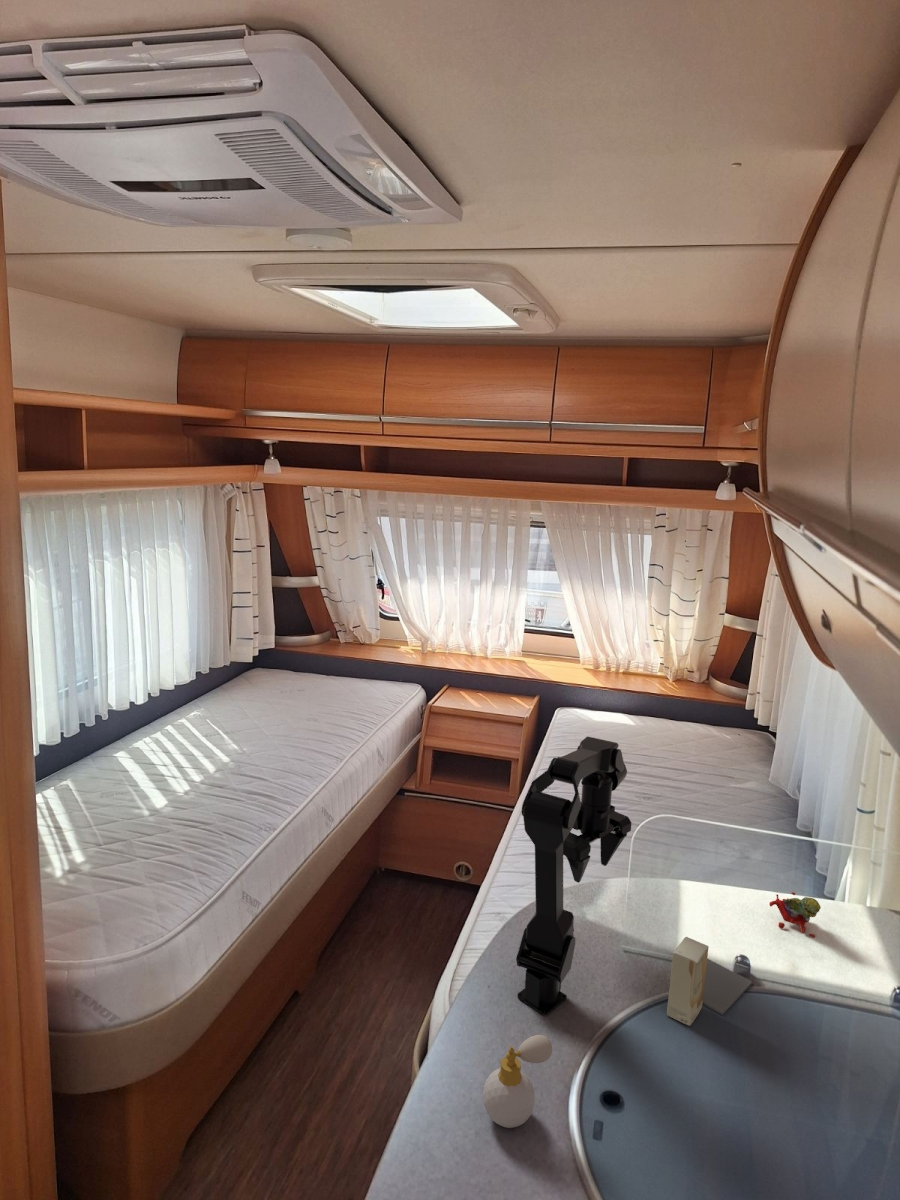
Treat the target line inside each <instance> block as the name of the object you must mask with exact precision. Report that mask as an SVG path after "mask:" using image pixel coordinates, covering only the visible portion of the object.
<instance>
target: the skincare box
mask: <svg viewBox="0 0 900 1200" xmlns="http://www.w3.org/2000/svg"><path fill="white" fill-rule="evenodd" d="M708 955H709V945H708V944H707V945H706V944H705V943H702V942H700V941H697V940H695V939H693V938H690V937H688V936H685V937H684V938H683V939H682V941H680V943H679V944H678V946H676V948H675V950H674V951H673V952H672V962H671V970H670V971H671V972H670V979H669V990H668V998H667V999H668V1000H667V1008H666V1015H667V1016H668V1017H670V1018H671V1019H672V1018H673V1019H674V1020H676V1021H678V1022H680V1023H682V1024H684V1025H687V1026H691V1025H692V1024H693V1023H694V1021H695V1020H696V1018H697V1017H698V1015H699V1013H700V1012H701V1010H702V1009H703V1004H702V1002H703V992H704V983H705V974H706V966H707V959H708Z"/></svg>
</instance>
